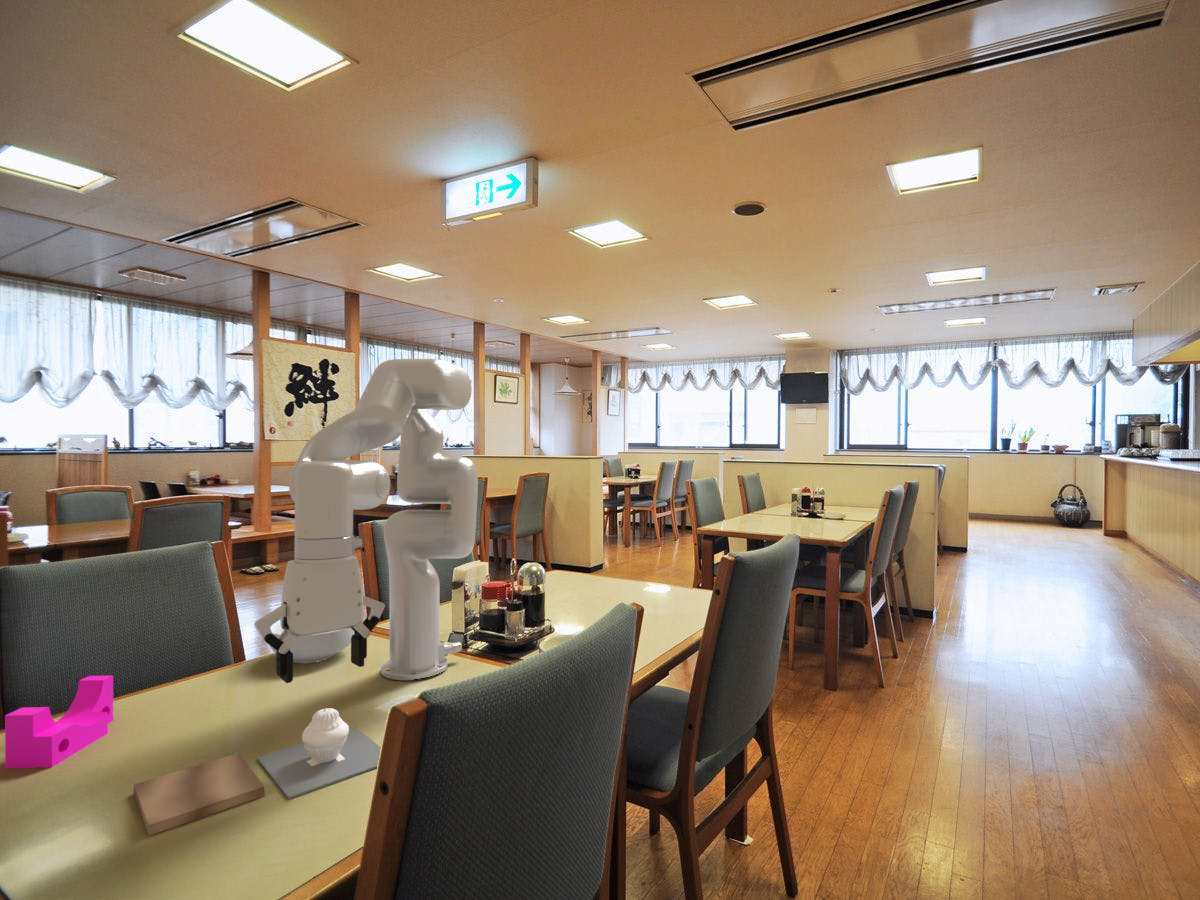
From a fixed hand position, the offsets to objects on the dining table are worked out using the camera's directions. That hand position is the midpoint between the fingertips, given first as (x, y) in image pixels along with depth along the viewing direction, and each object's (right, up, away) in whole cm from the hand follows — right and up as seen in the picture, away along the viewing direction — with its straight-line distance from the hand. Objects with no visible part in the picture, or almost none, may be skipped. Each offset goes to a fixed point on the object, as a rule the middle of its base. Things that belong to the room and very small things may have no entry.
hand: (323, 672), depth 88 cm
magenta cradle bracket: (-40, -13, +6) cm, 43 cm away
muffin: (0, -13, +1) cm, 13 cm away
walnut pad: (-12, -13, -8) cm, 19 cm away
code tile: (0, -13, +1) cm, 13 cm away
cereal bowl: (-22, -13, +45) cm, 51 cm away
